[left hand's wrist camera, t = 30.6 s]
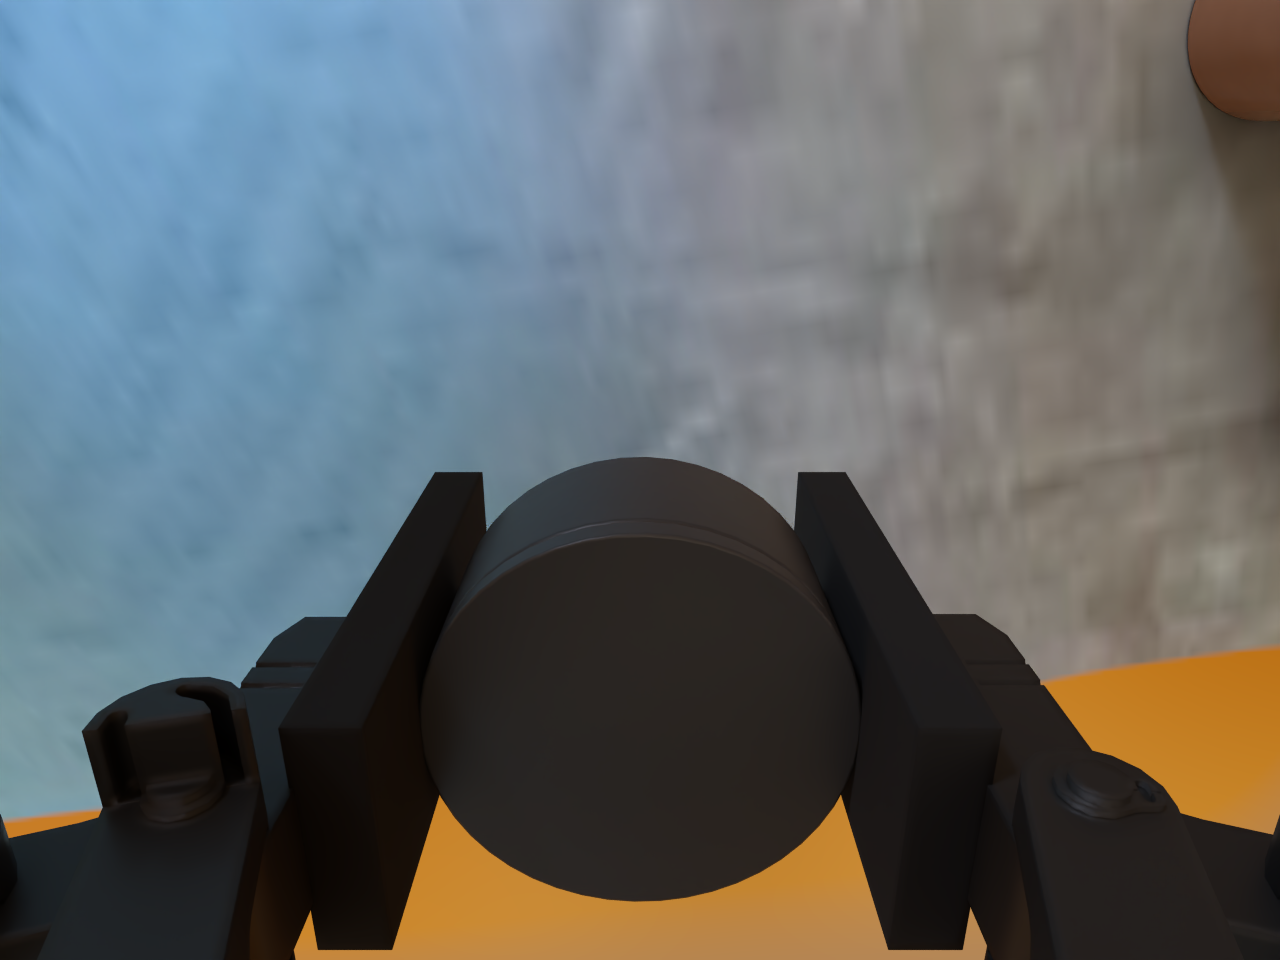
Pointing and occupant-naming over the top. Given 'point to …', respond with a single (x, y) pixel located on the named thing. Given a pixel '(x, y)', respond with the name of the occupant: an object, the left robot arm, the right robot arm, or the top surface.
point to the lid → (640, 685)
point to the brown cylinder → (1237, 56)
